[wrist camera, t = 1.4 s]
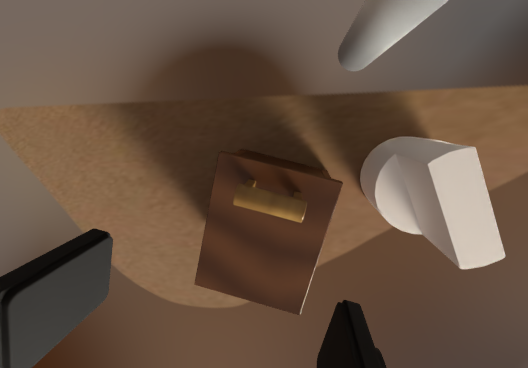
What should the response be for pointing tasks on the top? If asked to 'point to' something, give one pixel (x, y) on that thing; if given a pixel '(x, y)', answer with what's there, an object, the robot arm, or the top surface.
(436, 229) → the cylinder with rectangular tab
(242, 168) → the compartment lid
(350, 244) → the top surface
